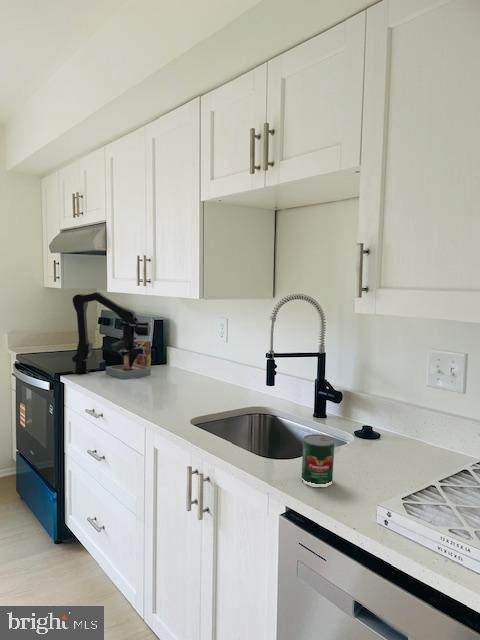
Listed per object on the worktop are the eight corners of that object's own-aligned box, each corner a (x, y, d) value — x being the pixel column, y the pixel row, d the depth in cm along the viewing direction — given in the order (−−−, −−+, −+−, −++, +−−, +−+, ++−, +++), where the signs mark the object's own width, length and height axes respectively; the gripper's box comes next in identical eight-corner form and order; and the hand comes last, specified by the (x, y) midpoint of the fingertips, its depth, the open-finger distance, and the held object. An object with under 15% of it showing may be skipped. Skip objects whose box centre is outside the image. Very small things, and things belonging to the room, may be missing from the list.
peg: (122, 368, 239) (122, 355, 238) (129, 367, 241) (129, 354, 241) (126, 370, 236) (126, 356, 235) (133, 369, 239) (133, 355, 238)
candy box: (150, 367, 259) (151, 339, 258) (150, 368, 255) (150, 340, 254) (134, 367, 258) (134, 339, 257) (133, 368, 254) (133, 340, 252)
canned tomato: (312, 490, 115) (314, 446, 114) (295, 477, 122) (297, 436, 121) (338, 485, 119) (341, 442, 118) (320, 472, 126) (322, 432, 125)
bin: (105, 373, 239) (105, 366, 238) (133, 370, 250) (133, 363, 250) (122, 379, 228) (122, 372, 227) (150, 375, 239) (150, 368, 239)
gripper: (104, 334, 238) (104, 364, 239) (124, 338, 225) (124, 370, 226) (123, 332, 246) (123, 362, 247) (144, 337, 233) (143, 368, 234)
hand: (128, 366), depth 238 cm, fingers closed on peg, 4 cm apart
